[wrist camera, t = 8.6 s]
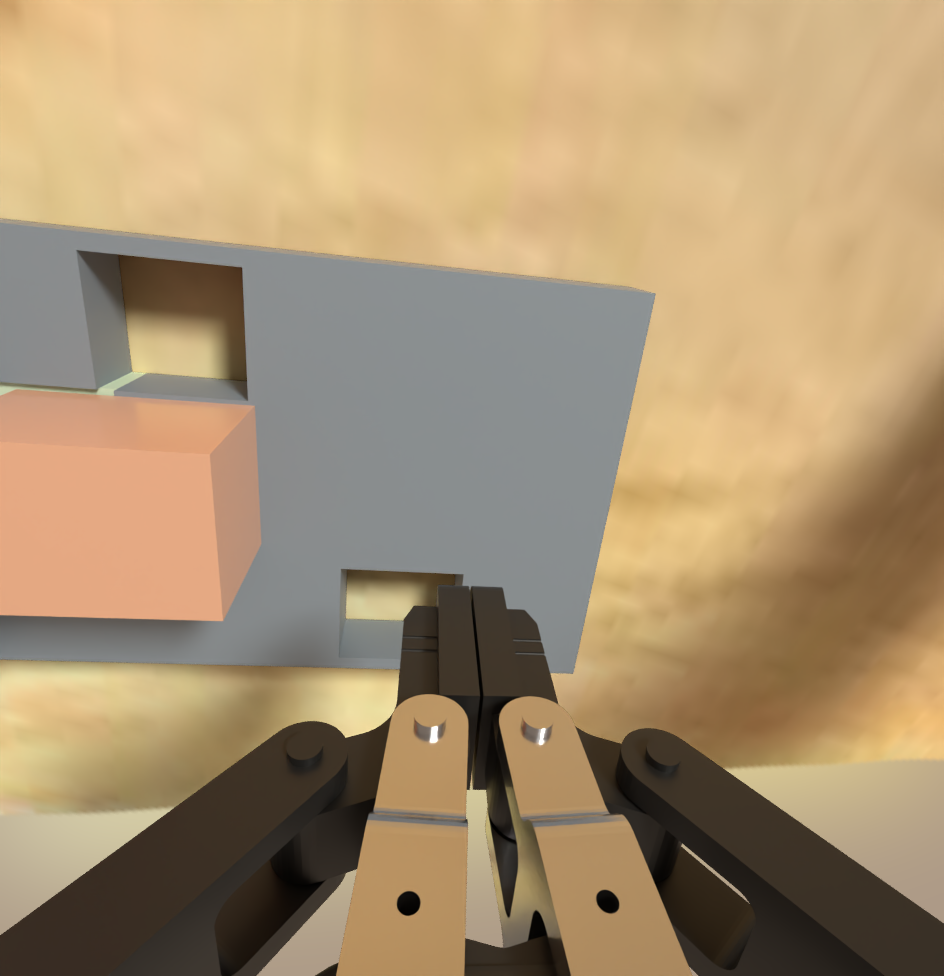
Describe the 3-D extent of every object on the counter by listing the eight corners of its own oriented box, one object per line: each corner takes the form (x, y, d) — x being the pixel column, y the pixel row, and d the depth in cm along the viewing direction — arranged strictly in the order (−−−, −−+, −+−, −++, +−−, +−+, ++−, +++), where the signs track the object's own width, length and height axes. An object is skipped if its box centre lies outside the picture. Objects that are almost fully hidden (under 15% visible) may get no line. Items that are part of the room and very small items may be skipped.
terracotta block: (254, 405, 19) (209, 454, 15) (261, 543, 21) (222, 621, 17) (16, 388, 18) (-103, 435, 14) (46, 534, 20) (-50, 613, 16)
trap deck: (629, 287, 21) (682, 300, 17) (559, 635, 27) (585, 709, 22) (-102, 207, 18) (-256, 199, 14) (-1, 617, 24) (-89, 698, 20)
